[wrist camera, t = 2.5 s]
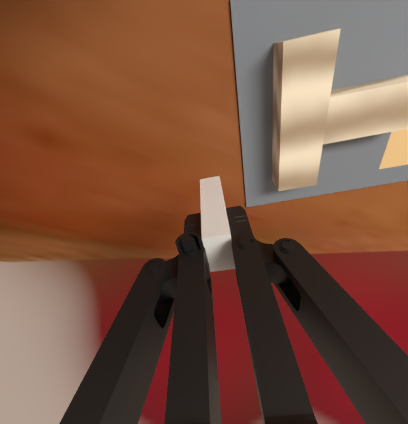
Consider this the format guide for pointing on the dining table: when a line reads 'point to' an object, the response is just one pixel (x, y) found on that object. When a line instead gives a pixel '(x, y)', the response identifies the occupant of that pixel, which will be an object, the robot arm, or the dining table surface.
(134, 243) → the dining table surface
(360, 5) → the push mat
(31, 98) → the dining table surface
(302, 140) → the t block
